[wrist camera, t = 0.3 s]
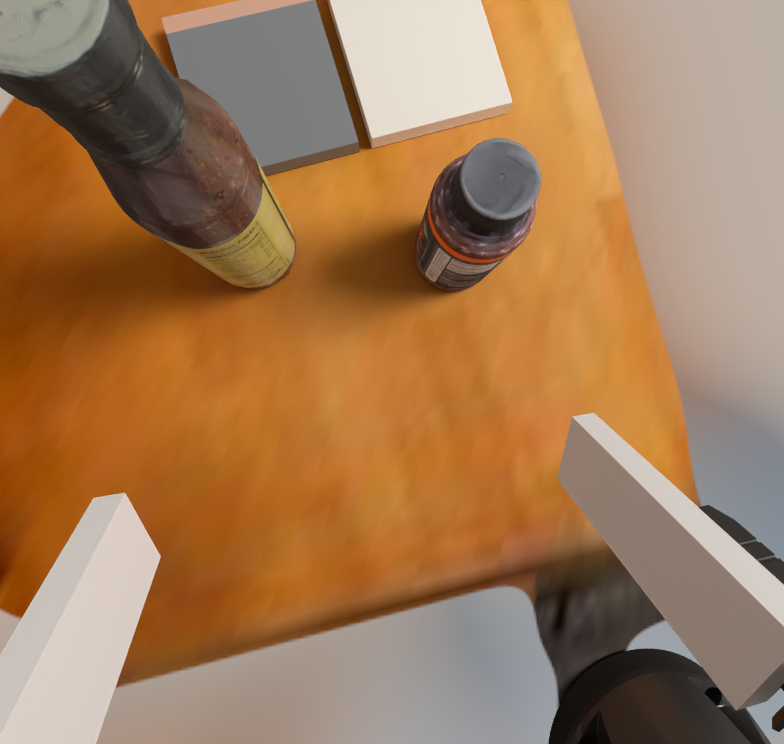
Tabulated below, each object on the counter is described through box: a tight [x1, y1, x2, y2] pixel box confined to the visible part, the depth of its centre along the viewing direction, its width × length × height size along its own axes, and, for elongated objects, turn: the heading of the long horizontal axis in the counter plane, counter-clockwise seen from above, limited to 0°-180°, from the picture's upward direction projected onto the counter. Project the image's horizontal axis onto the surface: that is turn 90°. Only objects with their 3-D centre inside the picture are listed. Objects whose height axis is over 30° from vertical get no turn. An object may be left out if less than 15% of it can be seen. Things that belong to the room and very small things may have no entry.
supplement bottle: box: [415, 138, 541, 291], centre depth 24 cm, size 6×6×11 cm
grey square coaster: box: [162, 0, 359, 176], centre depth 29 cm, size 12×11×1 cm
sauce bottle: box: [0, 0, 296, 289], centre depth 19 cm, size 6×6×20 cm
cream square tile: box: [327, 0, 512, 148], centre depth 29 cm, size 12×11×1 cm
